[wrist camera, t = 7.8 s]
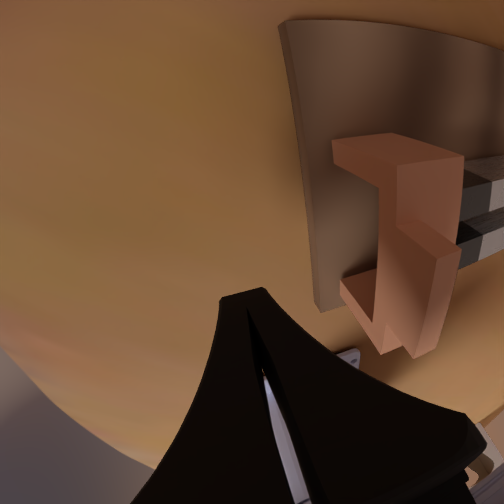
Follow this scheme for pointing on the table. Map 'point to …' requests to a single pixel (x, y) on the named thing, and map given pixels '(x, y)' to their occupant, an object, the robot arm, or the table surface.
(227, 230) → the table surface
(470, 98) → the walnut board
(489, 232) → the base
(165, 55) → the table surface
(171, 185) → the table surface
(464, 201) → the tongs arm
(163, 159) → the table surface
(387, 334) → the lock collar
